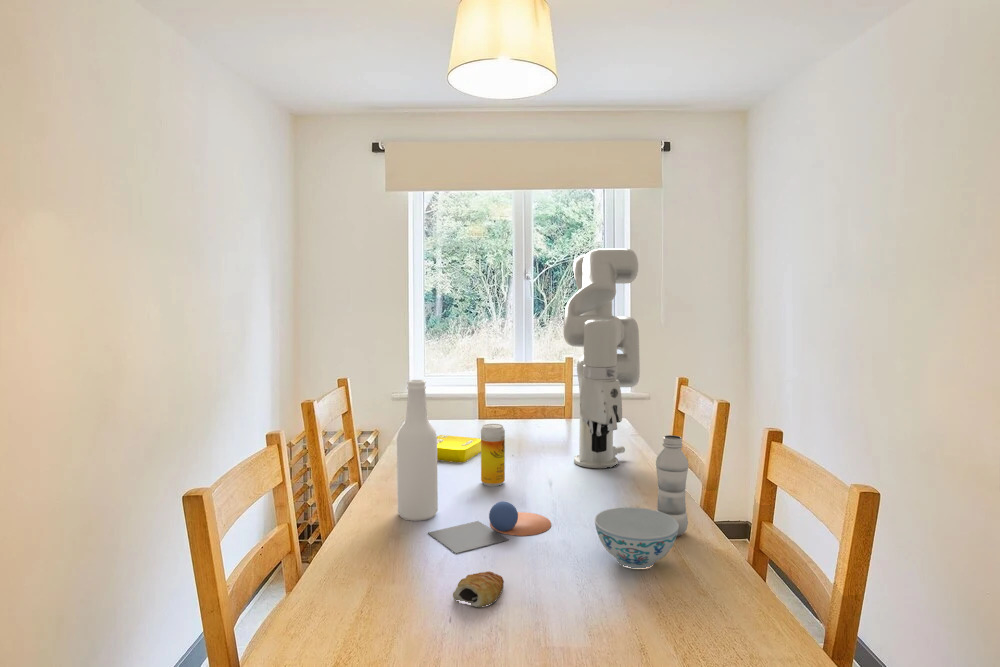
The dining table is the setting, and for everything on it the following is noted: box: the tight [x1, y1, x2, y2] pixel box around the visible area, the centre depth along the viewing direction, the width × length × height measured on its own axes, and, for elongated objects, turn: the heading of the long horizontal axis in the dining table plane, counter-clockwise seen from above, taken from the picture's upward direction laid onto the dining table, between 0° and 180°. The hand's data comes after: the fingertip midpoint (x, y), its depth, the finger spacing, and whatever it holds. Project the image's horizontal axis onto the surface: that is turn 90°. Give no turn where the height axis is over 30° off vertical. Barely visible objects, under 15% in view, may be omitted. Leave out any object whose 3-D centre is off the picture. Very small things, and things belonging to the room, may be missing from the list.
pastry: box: [452, 570, 505, 608], centre depth 104 cm, size 9×7×4 cm
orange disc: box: [489, 511, 552, 537], centre depth 135 cm, size 13×13×1 cm
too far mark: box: [427, 520, 510, 555], centre depth 128 cm, size 12×12×1 cm
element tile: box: [437, 434, 481, 463], centre depth 192 cm, size 15×15×5 cm
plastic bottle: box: [655, 434, 689, 537], centre depth 129 cm, size 6×7×20 cm
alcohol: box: [396, 379, 439, 522], centre depth 140 cm, size 9×9×30 cm
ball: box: [488, 500, 518, 531], centre depth 131 cm, size 6×6×6 cm
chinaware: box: [594, 506, 679, 568], centre depth 116 cm, size 15×15×8 cm
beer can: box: [480, 423, 506, 487], centre depth 163 cm, size 6×6×15 cm
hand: (599, 450), depth 147 cm, fingers closed
